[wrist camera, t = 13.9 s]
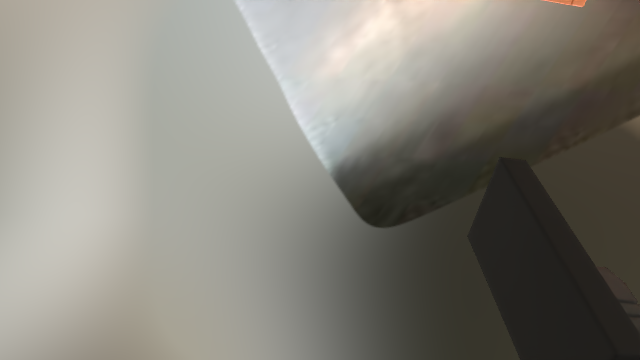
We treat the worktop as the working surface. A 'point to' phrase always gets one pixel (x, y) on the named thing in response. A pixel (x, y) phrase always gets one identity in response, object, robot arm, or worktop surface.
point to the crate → (570, 2)
